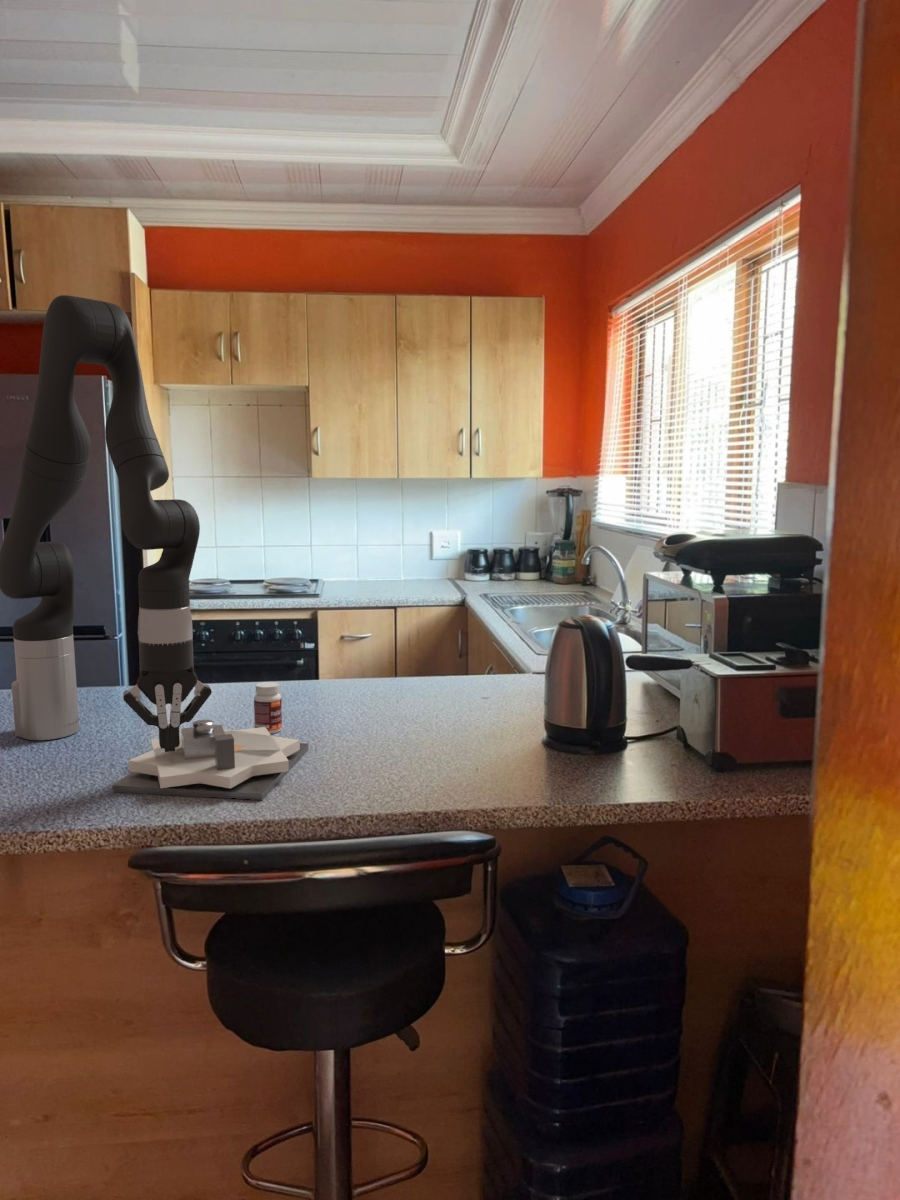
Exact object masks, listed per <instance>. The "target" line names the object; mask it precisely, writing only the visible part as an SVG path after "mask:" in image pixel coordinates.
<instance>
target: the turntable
mask: <svg viewBox="0 0 900 1200" xmlns="http://www.w3.org/2000/svg"><path fill="white" fill-rule="evenodd" d="M223 730H224V732H225V735H217V736H214V741H215V756H213V757H204V758H195V759H187V760H185V758H184V754H183V749H182V735H179V738H180V744H179V747H175V751H171V752H165V750H164V748H163V749H161V747H160V744H159V738H155V739H151V740H150V741H151V744H150V745H151V747H150V748H151V750H149V751H148V752H145V753H143V754H142V753H141V755H138V756H136V757H133V758H131V759H129V760H128V771H129V772H138V773H144V774H150V775H156V776H158V780H159V784H160V788H167V787H175V786H182V785H189V784H197V783H202V784H208V785H213V786H219V787H225V788H232V787H234V786H236V785H238V784H239V783H241V782H243V781H245V780H247V779H248V778H250V777H252V776H256V775H264V774H271V773H279V772H286V771H289V772H290V770H289V761H288V759H287V758H286V757H288V756H289V755H291V754H293V753H295V752H296V751H298V750H300V743H301V742H300V739H295V738H287V737H280V736H274V735H272V734H270V733H269V732H268V730H267V729H266V727H260V728H255V727H252V728H242V729H235V730H233V729H226V728H225V729H224V728H223Z"/></svg>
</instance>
